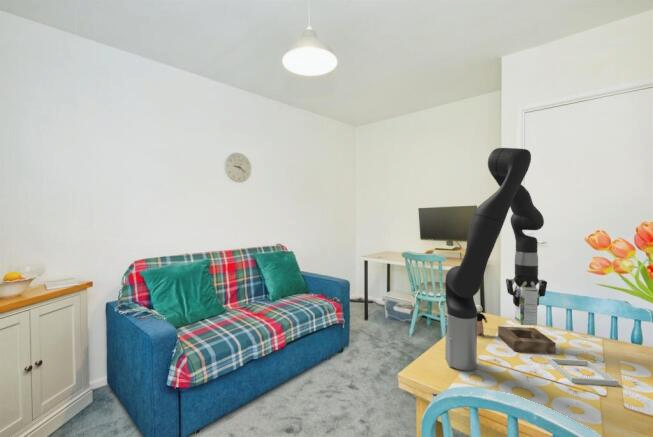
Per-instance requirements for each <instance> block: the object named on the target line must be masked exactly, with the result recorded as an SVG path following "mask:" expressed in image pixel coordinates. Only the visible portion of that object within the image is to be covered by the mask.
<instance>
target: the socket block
mask: <svg viewBox="0 0 653 437" xmlns="http://www.w3.org/2000/svg"><path fill="white" fill-rule="evenodd" d="M497 336H498V338H500V339H501V340H502V341H503V342H504V343H505V344H506V345H507V346H508V347H509V348H510V349H511V350H512V351H513V352H515V353H517V352H518V353H530V354H531V353H532V354H533V353H534V354H548V355H550V354H551V355H556V352H557V351H556V346H557V345H556V342H555V341H553V340H552V339H551V338H549V337H548V336H547V335H545V334H544V333H542V332H540V331H539V330H538V329H537V328H535V327H520V326H519V327H518V326H516V327H515V326H500V325H499V326H497Z"/></svg>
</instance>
